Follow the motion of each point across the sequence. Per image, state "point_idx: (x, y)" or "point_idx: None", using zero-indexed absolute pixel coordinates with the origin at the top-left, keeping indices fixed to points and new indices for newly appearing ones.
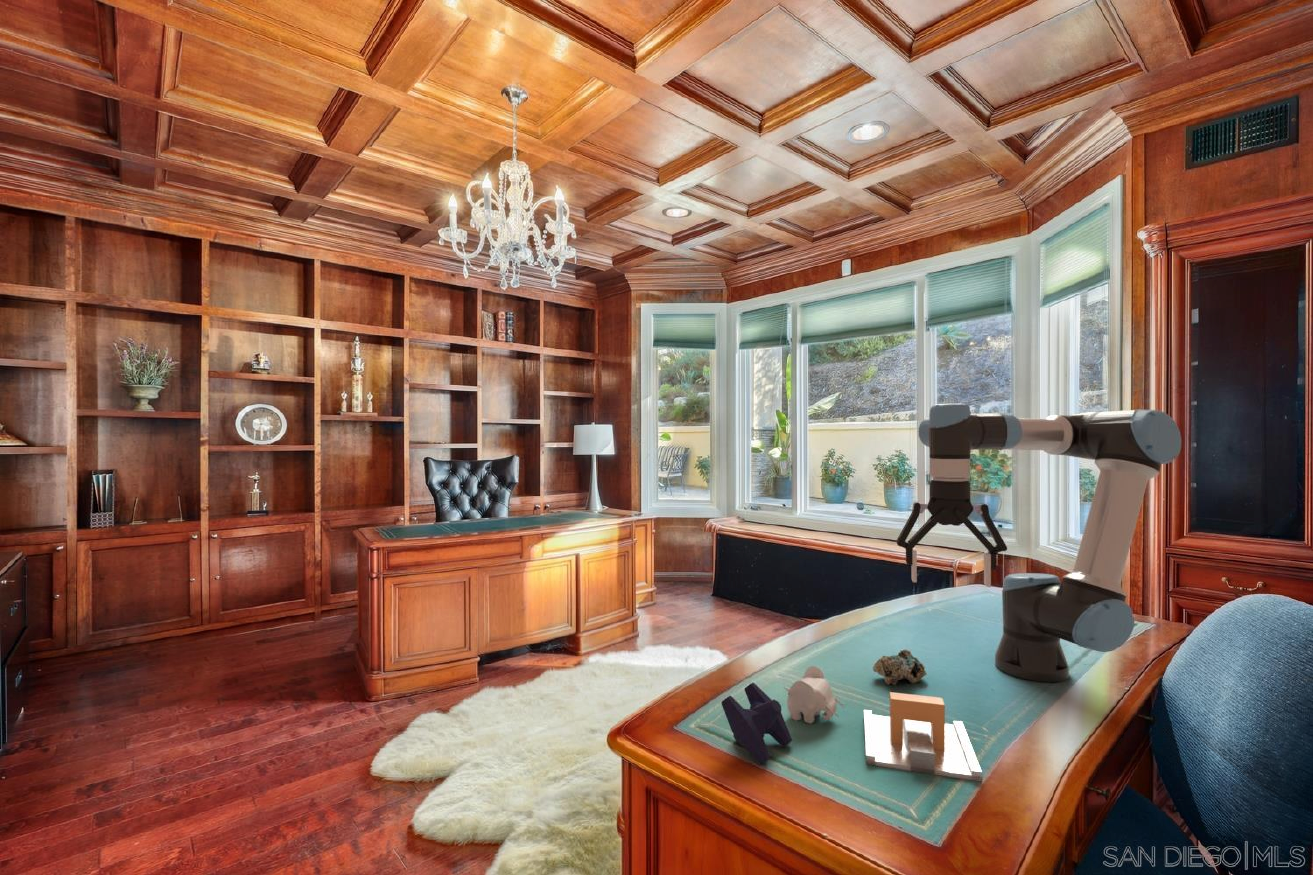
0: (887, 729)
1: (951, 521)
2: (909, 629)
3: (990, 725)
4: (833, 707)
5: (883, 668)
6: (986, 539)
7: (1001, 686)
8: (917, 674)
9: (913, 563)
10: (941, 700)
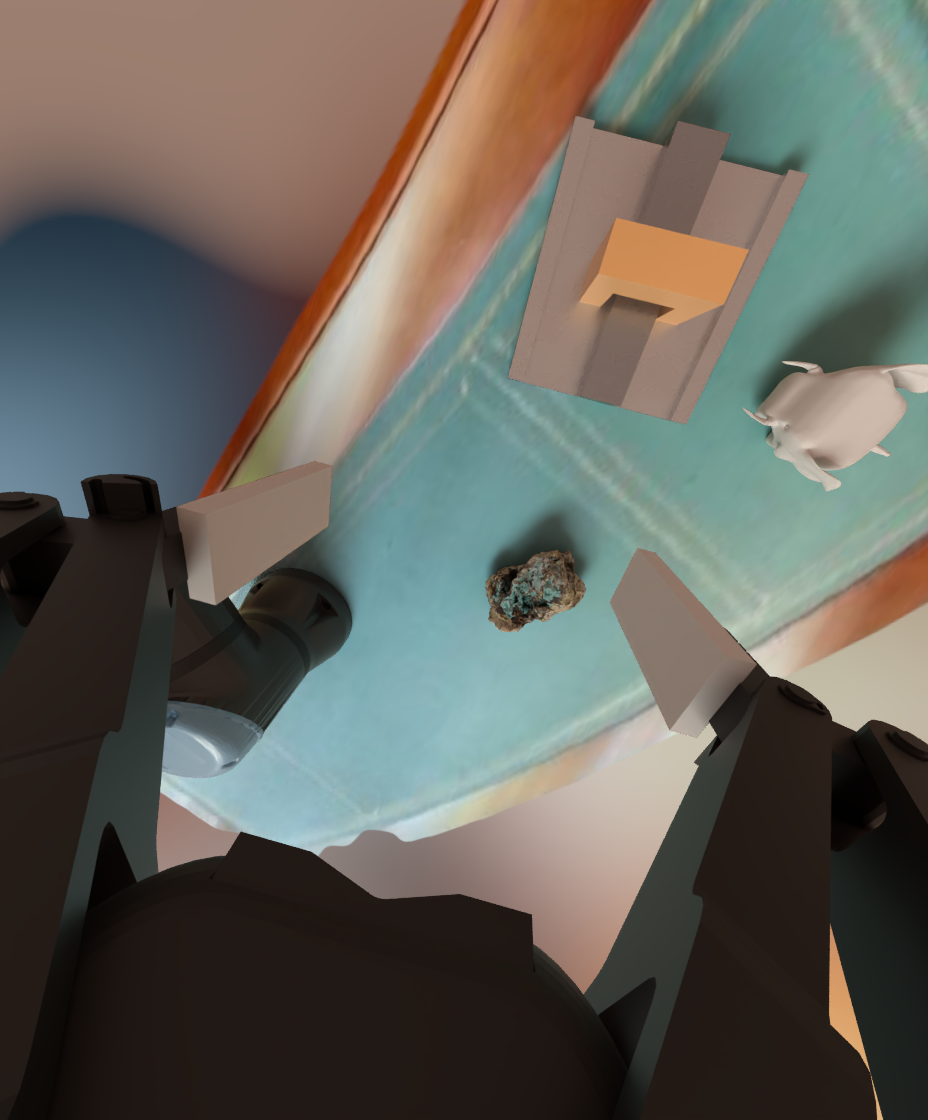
0: (669, 349)
1: (336, 985)
2: (433, 755)
3: (448, 402)
4: (786, 387)
5: (574, 577)
6: (67, 574)
7: (370, 555)
8: (507, 571)
9: (698, 602)
10: (609, 252)
